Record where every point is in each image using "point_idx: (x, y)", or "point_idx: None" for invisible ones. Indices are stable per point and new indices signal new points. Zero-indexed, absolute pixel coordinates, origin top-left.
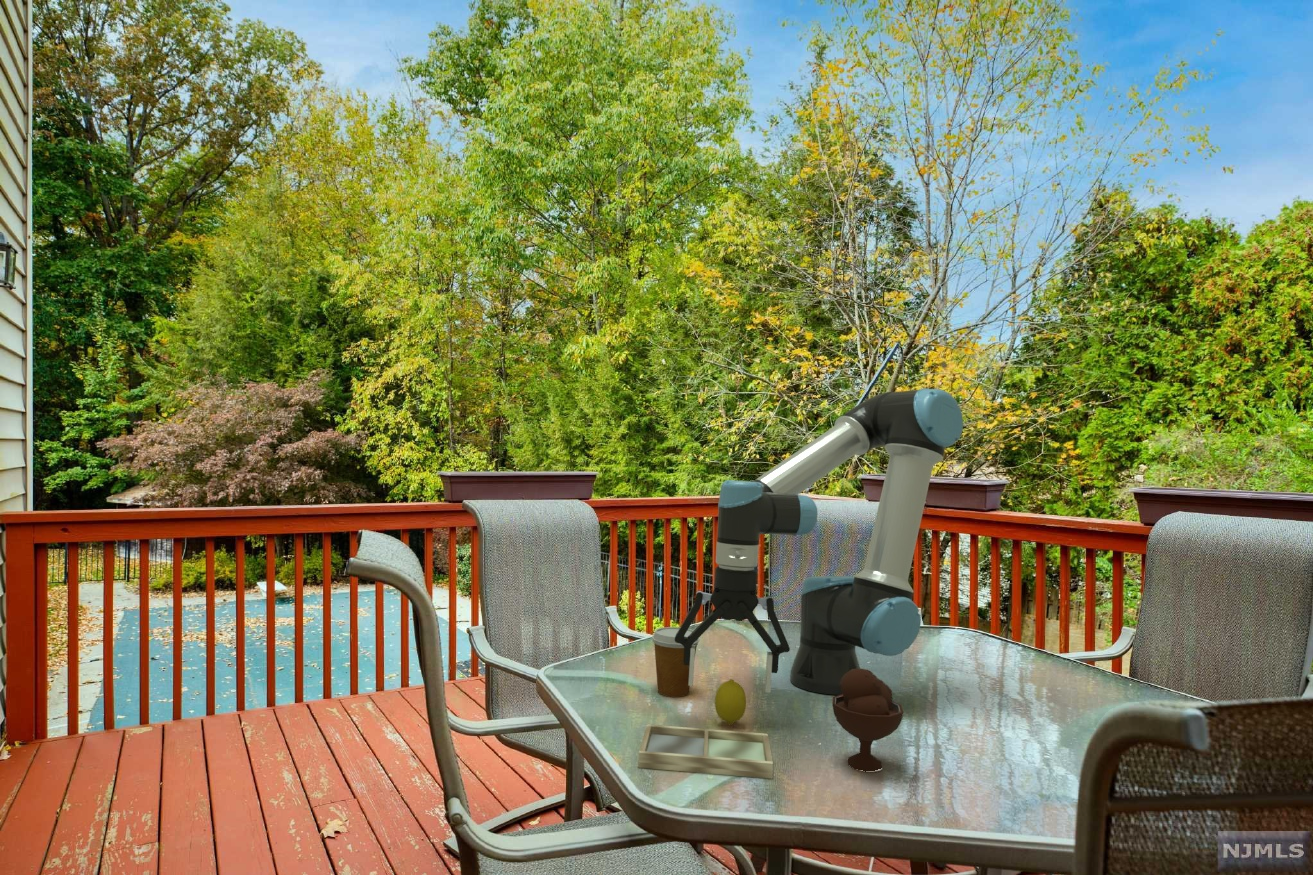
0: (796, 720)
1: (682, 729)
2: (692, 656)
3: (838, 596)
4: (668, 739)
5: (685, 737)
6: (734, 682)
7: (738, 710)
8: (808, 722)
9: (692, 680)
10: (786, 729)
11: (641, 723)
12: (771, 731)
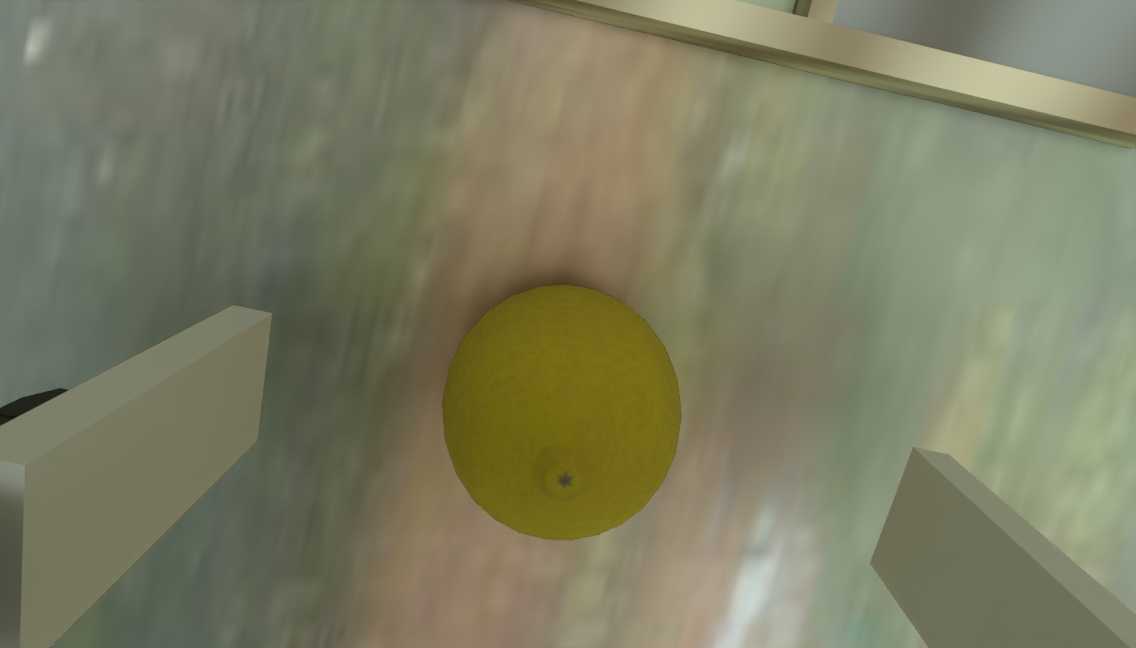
0: None
1: (976, 62)
2: (1114, 616)
3: None
4: (1061, 4)
5: (938, 40)
6: (538, 454)
7: (526, 291)
8: None
9: (940, 469)
10: (213, 283)
11: (1088, 376)
12: (317, 250)
